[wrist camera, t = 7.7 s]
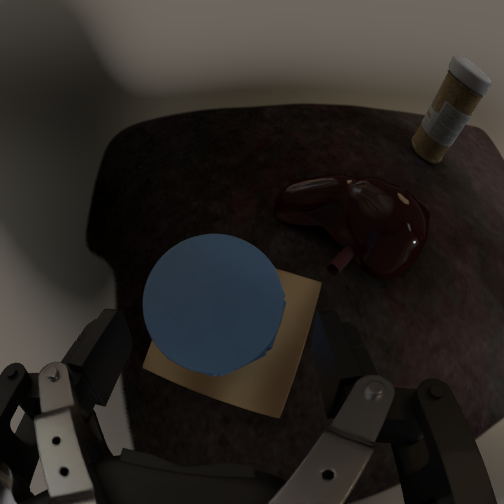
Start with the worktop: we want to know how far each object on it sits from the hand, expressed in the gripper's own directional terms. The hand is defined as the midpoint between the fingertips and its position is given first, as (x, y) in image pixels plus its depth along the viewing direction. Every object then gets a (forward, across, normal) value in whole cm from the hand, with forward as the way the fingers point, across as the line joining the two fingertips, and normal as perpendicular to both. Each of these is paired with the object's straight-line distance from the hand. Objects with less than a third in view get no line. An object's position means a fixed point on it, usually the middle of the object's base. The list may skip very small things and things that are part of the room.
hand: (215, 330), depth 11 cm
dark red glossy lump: (+13, -10, 0) cm, 16 cm away
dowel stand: (+7, 0, +5) cm, 9 cm away
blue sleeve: (+6, 0, +5) cm, 7 cm away
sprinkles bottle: (+20, -22, -8) cm, 31 cm away
